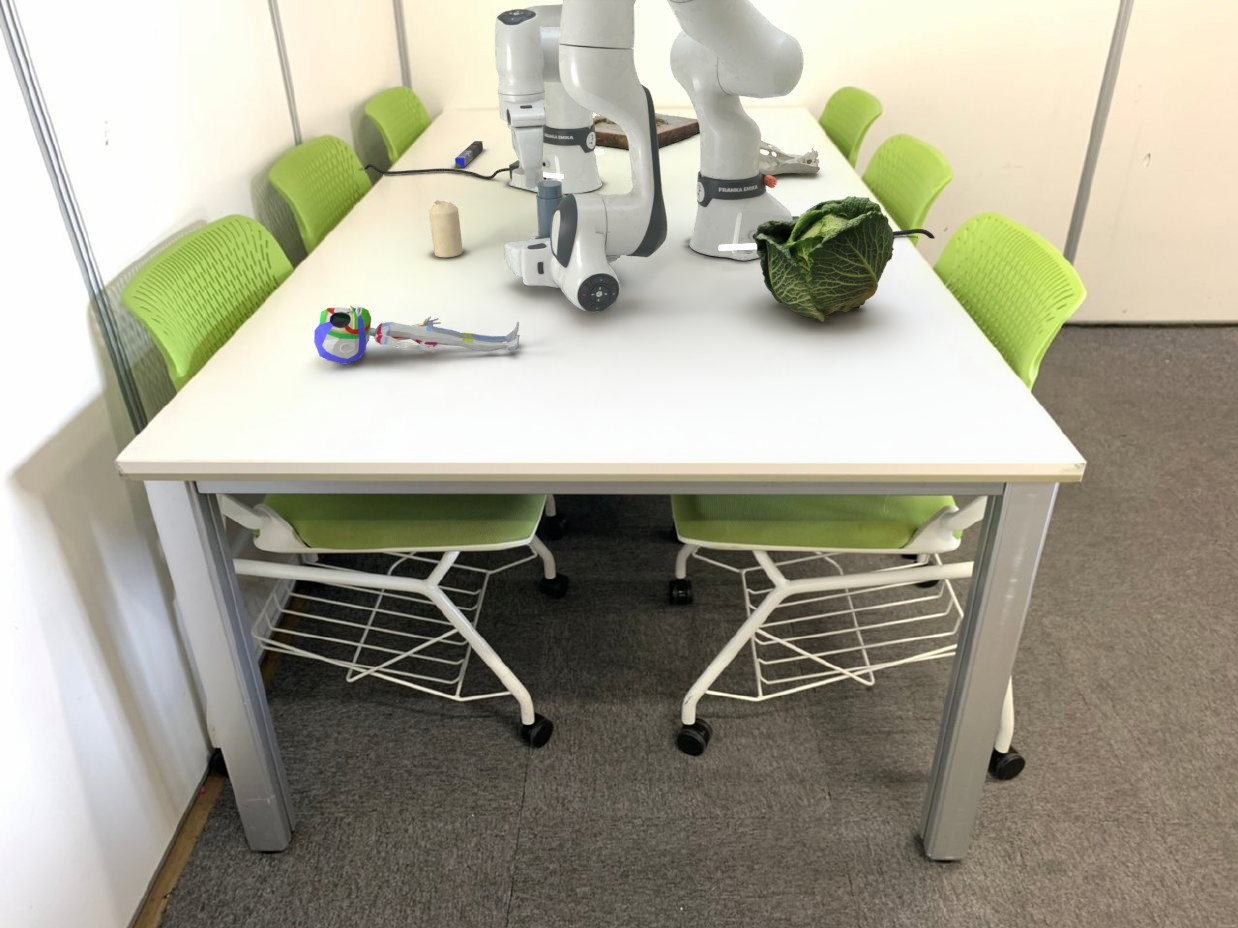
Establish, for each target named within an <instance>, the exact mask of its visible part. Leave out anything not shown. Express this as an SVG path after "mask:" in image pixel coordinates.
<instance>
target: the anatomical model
mask: <svg viewBox="0 0 1238 928" xmlns="http://www.w3.org/2000/svg"><path fill="white" fill-rule="evenodd" d="M760 150H764V151H767V152H768V154H763V153H761V152H760V162H759V171H760V172H762V173H763V174H765V175H771V176H775V175H780V174H793V173H794V174H807V175H808V174H814V173H818V172H819V171H820V170H821V167H820V166H819V164H820V159H819V158H818V157H819V152H818V150H814V147H811V152H810V151H807V152H806V153H805V154H793V153H787V152H784V151H782V150H781V149H780V148H779V147H777V146H776V145H774V144H771V143H769V142H766V141H765V140H761V147H760ZM773 153H775V154H776V156H775V155H773Z"/></svg>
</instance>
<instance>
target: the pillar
mask: <svg viewBox="0 0 1238 928" xmlns="http://www.w3.org/2000/svg"><path fill="white" fill-rule="evenodd" d="M483 150H484V145H483V141H482V140H474V141H473V142H471V144H470V145H468V146H467V147H466V148H465V149H463V151H462V152H461V153H460V154H458V155H457V156H456V157H455V158H454V163H455V169H458V168H465V167H466V166H467V165H469V163H471V162H472V160H474V159H475V158H476V157H477V156H478V155H479V154H480V153H481V152H482V151H483Z"/></svg>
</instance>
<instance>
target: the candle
mask: <svg viewBox="0 0 1238 928" xmlns="http://www.w3.org/2000/svg"><path fill="white" fill-rule="evenodd" d="M459 214H460V212H459V208H458V206H456V204H454V203H453V202H451V201H445V200H436V201H434V202H433V204H431V206H430V208H429V209H428V215H429V223H430V230H431V240H432V246H433V247H432V248H433V252H434V255H435V256H436V257H439V258H453V257H457V256H460V255H462V254H463V252H464V251H463V240H462V231H461V224H460V222H461V221H460V215H459Z"/></svg>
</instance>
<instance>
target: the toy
mask: <svg viewBox="0 0 1238 928" xmlns="http://www.w3.org/2000/svg"><path fill="white" fill-rule="evenodd" d="M349 307H350V308H349ZM349 307H327V308H325V309H324V310H322V311H321V312H320V314H319V317H318V319H317V321H316V322H315V323H316V324H315V326H314V327H313V331H312V335H313V336H312V343H313V345H314V346H315V347H314V348H316V350H317V353H318V355H319V357H321V358H323V359H325V360H326V361H329V362H333V363H336V364H344V365H348V364H350V363H353V362H355V361H358V360H360V359H361V358H362V356H363V355H364V353H365V352H366V351H367V345H368V343H369V342H370V337H373V339H374V341H375V343H377V344H379V345H383V346H384V345H386V346H390V347H394V348H398V349H400V350H405V351H414V350H421V351H422V350H423V351H427V352H430V353H435V351H437V349H436V348H434V347H436V346H438V345H439V346H454V347H462V348H468V349H471V350H475V351H477V352H481V351H482V352H490V351H500V350H505V349H506V350H507V351H510V352H512V353H515V352H516V350H517V349H518V347H519V343H520V335H519V334H518V332H519V327H520V322H519V321H517V322H516V326H515V327H514V330H512V331H511V332H510V333H508V334H506V335H485V334H478V333H472V332H471V333H470V332H460V331H457V330H453V329H449V328H443V327H438V326H434V325H440V324H442V322H440V321H439V322H437V321H438V320H439V318H434V319H431V318H432V317H431V316H430V315H429V317H428V318H425V319H424V321H423V322H422V323H415V324H412V325H410V324H405V323H398V322H396V321H395V322H394V321H386V322H380V324H378V325H377V327H376V328H375V327H372V326H371V325H372V316H371V313H370V311H369V309H366V308H365V307H362V306H356V307H353V306H352V305H349ZM430 319H431V320H430ZM435 321H436V322H435ZM404 340H412V341H414V342H416V343H413V342H409V341H404Z"/></svg>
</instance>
